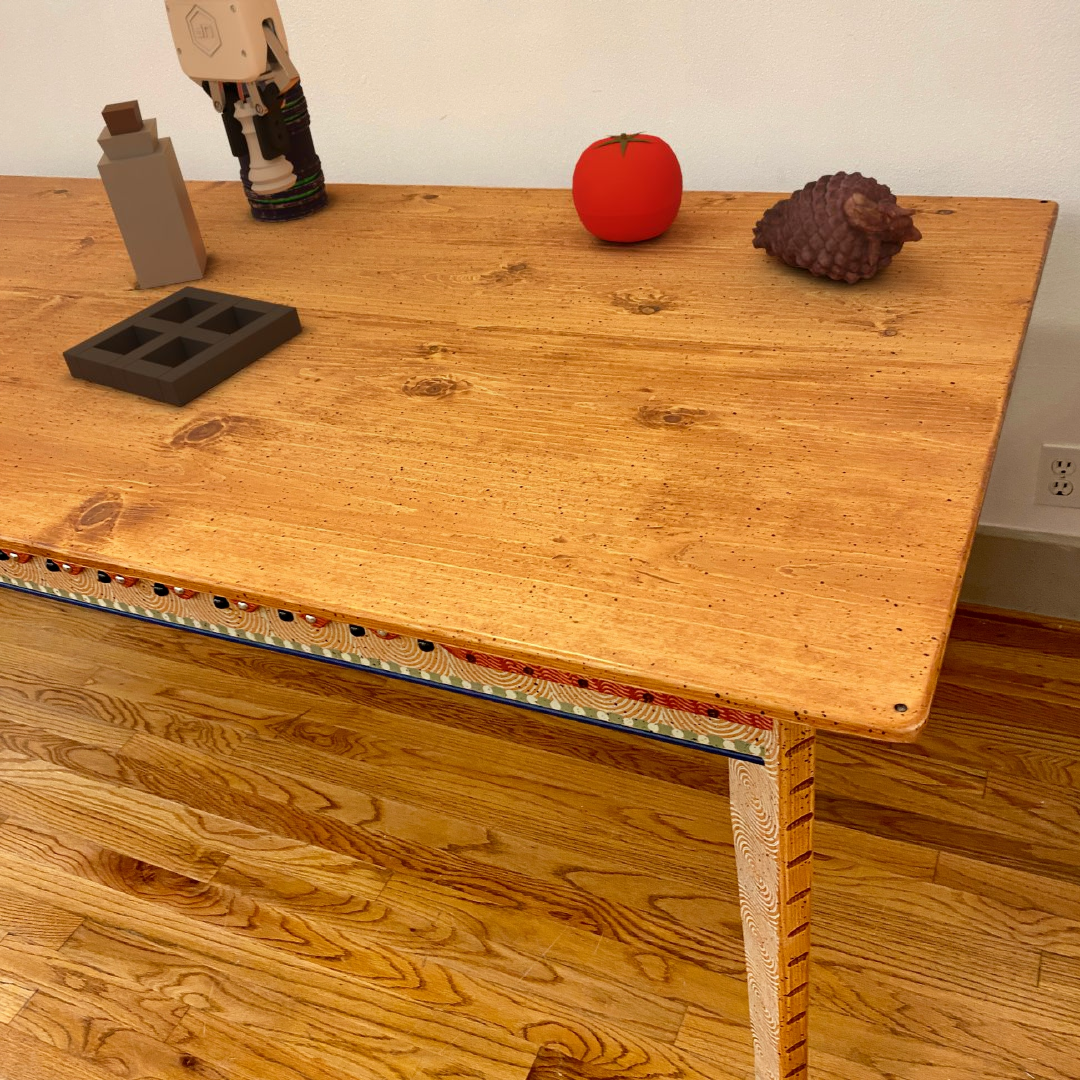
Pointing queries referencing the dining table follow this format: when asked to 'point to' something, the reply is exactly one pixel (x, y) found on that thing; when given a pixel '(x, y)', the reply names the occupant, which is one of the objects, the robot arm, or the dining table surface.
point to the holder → (183, 344)
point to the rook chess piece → (262, 172)
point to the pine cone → (837, 227)
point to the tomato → (627, 187)
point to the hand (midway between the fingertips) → (262, 152)
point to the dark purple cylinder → (306, 165)
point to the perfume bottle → (149, 198)
